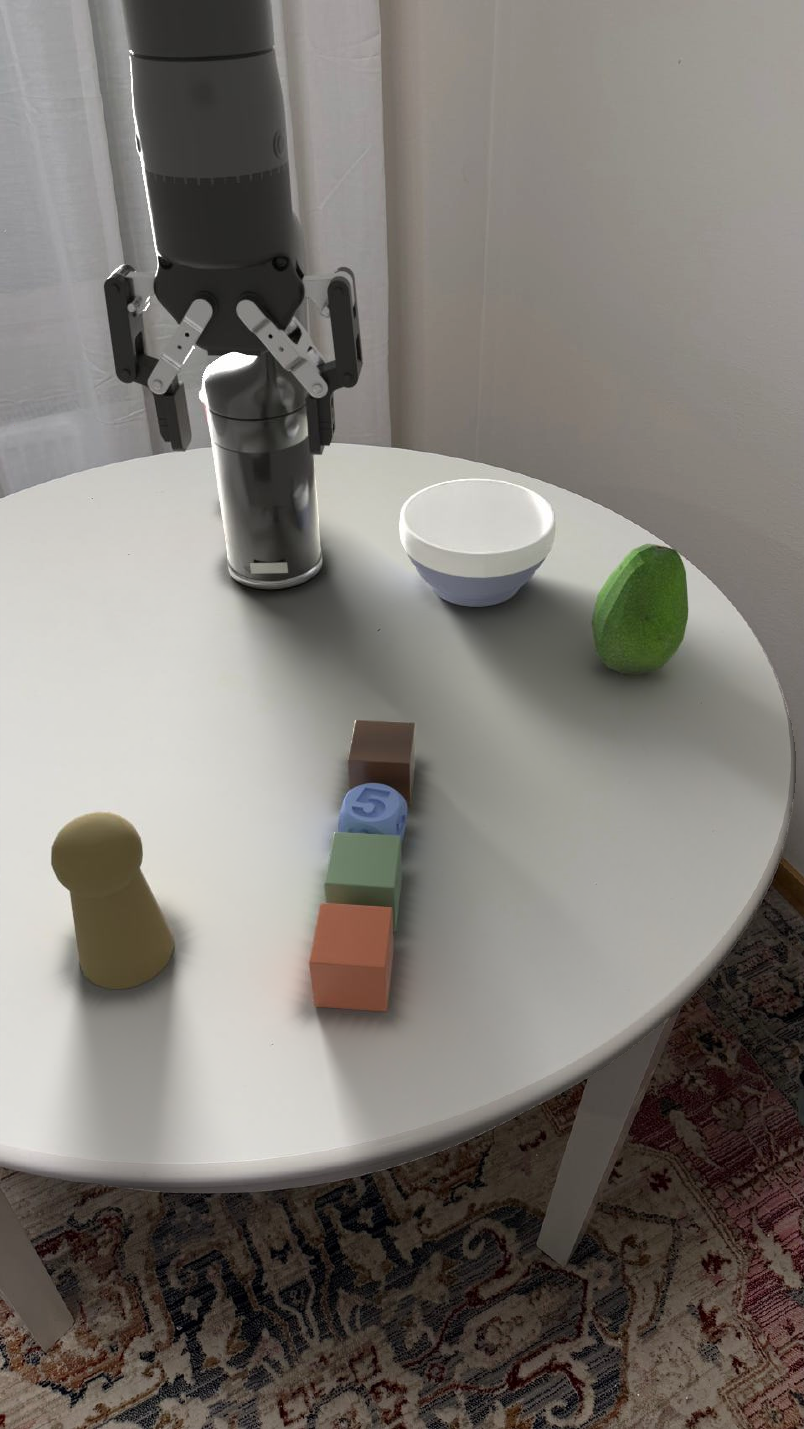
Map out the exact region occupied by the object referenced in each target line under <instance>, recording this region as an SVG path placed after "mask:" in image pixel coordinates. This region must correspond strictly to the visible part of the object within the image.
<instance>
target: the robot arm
mask: <svg viewBox="0 0 804 1429" xmlns="http://www.w3.org/2000/svg"><path fill="white" fill-rule="evenodd" d="M120 1H121V8H122V13H123V20H124V27H125V33H126V39H127V46H128V51H129V52H130V53H129V62H130V72H131V73H130V76H131V97H132V98H131V99H132V110H133V118H134V124H135V133H134V136H135V137H134V138H135V144H136V150H137V154H138V155H139V157H140V161H141V167H142V175H143V181H144V186H145V193H146V199H147V205H148V211H149V218H150V223H151V230H152V235H153V236H152V237H153V242H154V248H155V249H154V250H155V253H156V258H157V270H156V272H146V271H145V272H143V271H137V270H136V269H135V268H134V267H133V266H132V265H130V264H125V263H124V264H121V265H119V267H118V268H116V269H115V270H114V271H113V272H112V273H111V274H110V275H109V276H108V278H107V279H106V280H105V281H104V283H103V292H104V299H105V300H104V301H105V306H106V313H107V319H108V320H107V321H108V328H109V335H110V341H111V342H110V343H111V349H112V356H113V363H114V371H115V375H116V377H117V379H118V380H119V381H120V382H122V383H124V384H132V383H133V382H134V383H136V384H139V385H142V386H144V387H146V388H147V389H149V391H150V392H151V394H152V395H153V401H154V407H155V412H156V417H157V423H158V429H159V434H160V436H161V438H162V439H163V441H164V442H165V443H170V446H171V447H170V448H171V450H172V452H182V453H183V452H186V451H187V449H188V448H189V446H190V444H191V442H192V435H193V434H192V426H191V422H190V415H189V408H188V400H187V396H186V390H185V383H184V381H180V380H179V376H178V374H179V373H180V371H181V370H182V368H183V366H184V364H185V363H186V361H187V359H188V358H189V357H190V355H191V353H192V351H193V349H195V346H196V347H197V348H198V349H200V350H202V351H204V352H207V353H206V354H207V356H208V357H209V356H212V357H213V356H215V357H219V358H218V359H216V360H215V361H213V362H212V363H211V364H209V365H208V366H207V367H206V369H205V371H204V373H203V376H202V377H203V378H202V384H203V387H204V395H205V402H206V408H207V415H208V420H207V423H208V422H209V425H208V430H209V429H210V430H209V435H210V440H211V448H212V454H213V463H214V469H215V475H216V483H217V491H218V496H219V503H220V511H221V512H220V513H221V518H222V526H223V533H224V540H225V548H226V555H227V558H226V560H227V562H226V563H227V568H228V572H229V574H230V577H232V579H234V580H235V581H237V582H238V583H240V584H242V585H244V586H246V587H251V588H254V589H262V590H279V589H286V588H291V587H295V586H297V585H300V584H303V583H305V582H307V581H309V580H311V579H312V578H314V577H315V576H316V575H317V574H318V573H319V572H320V570H321V568H322V566H323V551H322V548H321V536H320V535H321V534H320V521H319V505H318V493H317V492H318V491H317V481H316V480H317V479H316V466H315V456H323V454H324V451H325V450H324V449H325V447H330V445H331V443H332V440H333V437H334V434H335V431H336V414H335V398H334V396H335V395H334V393H335V391H337V390H340V389H342V388H347V389H350V388H354V387H355V386H356V385H357V384H358V381H359V379H360V375H361V373H362V372H361V371H362V369H363V365H364V359H363V358H364V357H363V349H362V348H363V347H362V338H361V329H360V328H361V326H360V319H359V317H360V316H359V308H358V297H357V289H356V277H355V274H354V271H353V270H351V269H350V268H349V267H347V266H340V267H338V268H337V269H335V271H334V273H331V274H310V275H308V271H307V270H308V268H307V266H308V265H307V251H306V244H305V243H306V242H305V237H304V233H303V229H302V226H301V223H300V220H299V218H298V217H297V215H296V213H295V212H294V211H293V202H292V190H291V189H292V188H291V176H290V174H291V173H290V160H289V149H288V136H287V123H286V121H287V120H286V108H285V102H284V101H285V100H284V94H283V87H282V83H281V77H280V73H279V68H278V61H277V55H276V49H275V47H274V46H275V33H274V32H275V31H274V19H273V9H272V6H273V5H272V0H120ZM153 296H155V298H156V300H157V302H158V303H160V306H162V307H163V309H164V310H165V311H166V313H167V314H168V315H169V316H170V318H172V319H173V320H174V322H175V323H176V324H177V325H178V327H177V329H176V330H175V332H174V333H173V336H171V338H170V340H169V342H168V344H167V345H166V347H165V349H164V351H163V352H162V354H161V356H160V358H156V357H153V356H150V355H148V351H147V343H146V342H147V341H146V333H145V325H144V318H143V313H144V312H145V311H146V310H147V308H148V307H149V306H150V303H151V297H153ZM308 299H309V300H311V301H312V302H314V303H315V305H316V309H317V311H318V313H319V314H320V315H321V316H322V317H324V318H327V319H330V325H331V326H330V327H331V335H332V336H331V337H332V345H333V352H334V360H331V361H328V360H327V359H326V358H325V356H324V355H323V354H322V353H321V352H320V350H319V349H318V348H317V347H316V345H315V344H314V342H313V339H312V336H311V334H310V333H309V322H308V321H309V320H308ZM207 415H206V416H207Z"/></svg>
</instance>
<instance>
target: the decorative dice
mask: <svg viewBox="0 0 804 1429" xmlns="http://www.w3.org/2000/svg"><path fill="white" fill-rule="evenodd" d="M407 820H408V807H407V802H406V801H405V799H404V798H403V797H402V795H401V794H400V793H398V792H397V791H396V790H395V789H393V788H391V787H389V786H387V785H384V784H379V783H367V784H362V785H359V786H357V787H355V788H353V789H352V790H350V789H349V791H348V792H347V793H346V795H345V797H344V798H343V801H342V804H341V807H340V811H339V815H338V820H337V821H338V822H337V831H336V832H342V833H359V834H377V835H394V836H401V844H402V843H403V840H404V837H405V832H406V827H407Z"/></svg>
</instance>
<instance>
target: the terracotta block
mask: <svg viewBox="0 0 804 1429" xmlns="http://www.w3.org/2000/svg"><path fill="white" fill-rule="evenodd" d="M394 948H395V947H394V932H393V911H392V907H378V906H362V905H346V904H330V903H326V902H321V903H320V904H319V907H318V914H317V918H316V924H315V928H314V934H313V939H312V944H311V950H310V955H309V960H308V966H309V975H310V984H311V990H312V991H311V992H312V1000H313V1006H314V1007H315V1008H316V1007H318V1008H328V1009H329V1008H330V1009H343V1010H344V1009H346V1010H357V1011H358V1010H360V1011H370V1012H371V1011H372V1012H384V1013H385V1012H387V1011H388V1005H389V997H390V996H389V995H390V987H391V979H392V978H391V977H392V971H393V970H392V969H393V963H394V962H393V961H394V953H395V952H394Z"/></svg>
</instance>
